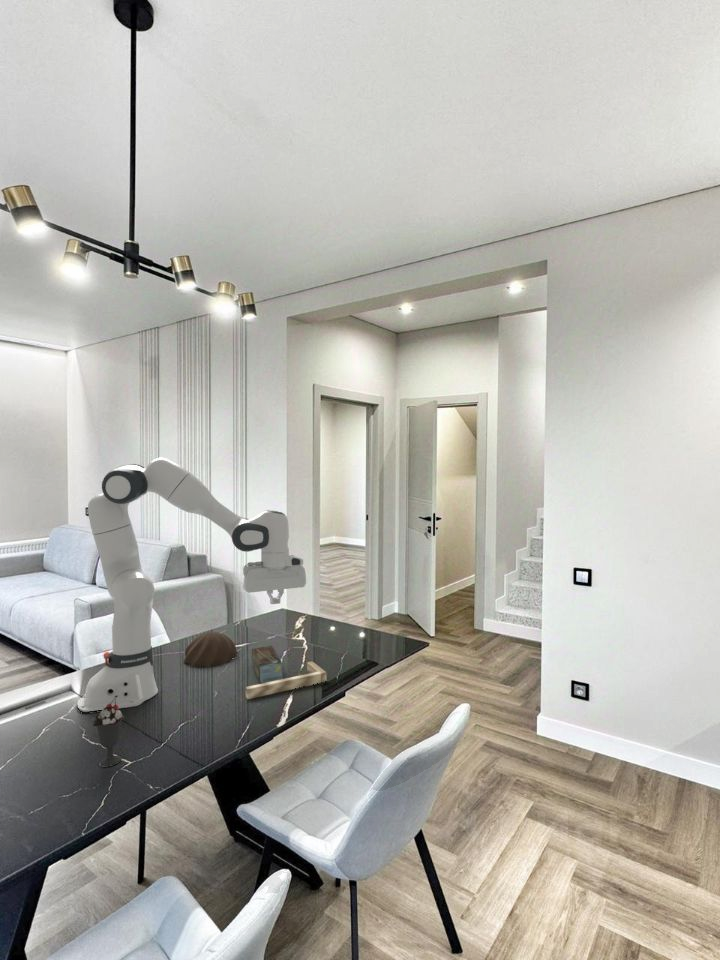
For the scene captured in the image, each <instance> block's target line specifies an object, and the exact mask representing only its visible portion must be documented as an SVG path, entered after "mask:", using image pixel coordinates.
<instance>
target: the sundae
mask: <svg viewBox="0 0 720 960" xmlns="http://www.w3.org/2000/svg"><path fill="white" fill-rule="evenodd" d="M115 697H118V695H117V696H115ZM115 697H114V698H115ZM113 700H114V699H113ZM115 701H116V698H115ZM112 702H113V701H112ZM112 702H111V703H112ZM111 703H110V704H108V705H107V706H106V707H105V708H104V709H103V710H102V711H99V712H100V713H99V716H98V715H97V714H94V717H95V719H94V720H93V722H92V724H93V727H96V729H97V733H98V739H99V742H100V743H99V744H100V745H101V746H102V747H103V748H105V749H106V752H107V755H106V757H105V758H102V759H101V760H100V761H101V763H100V764H101V766H110V765H115V764H117V765H118V764H120V763H121V761H122V760H123V758H122V756H120V755H115V754H114V752H113V751H114V750H113V748H114V746H115V745H117V744H118V742H119V741H120V735H121V726H122V721H123V719H124V718H126V717H125V715H123V714H122V712H121V710H120V709H119V708H118V706H117V705H116V702H115V705H114V706H113V707H112V705H111ZM119 762H120V763H119ZM115 766H116V765H115Z"/></svg>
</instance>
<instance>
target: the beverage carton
mask: <svg viewBox="0 0 720 960" xmlns="http://www.w3.org/2000/svg"><path fill="white" fill-rule="evenodd" d="M251 662H252V663H251V664H252V667H253V669H254V671H255V674H256V677H257V678H258V680H259V682H260V684H262V683H267V682H272V681H276V680H281V679H284V675H283V674H284V673H283V670H284V669H283V663H282V661H281V659H280V657H279V655H278V653H277V651H276V649H275V647H274V646H273V645H269V646H262V647H258V648H252V649H251Z"/></svg>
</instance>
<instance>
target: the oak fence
mask: <svg viewBox="0 0 720 960" xmlns="http://www.w3.org/2000/svg"><path fill="white" fill-rule="evenodd" d="M306 671H308V672H307V673H306V674H301V675H295V676H292V677H287V678H283V679H281V680H276V681H272V682H266V683H260V684H259V683H258V684H254V685H249V686H245V698H246V699H247V700H251V699H254V698H255V699H256V698H260V697H264V696H265V697H266V696H268V695H273V694H278V693H281V692H285V691H286V692H287V691H289V690H295V688H296V689H300V688H304V687H303V686H305V687H309V686H314V685H317V683H318V684H322V683H326V682H325V681H328V679H327V678H328V677H327V676H328V675H327V674H328V673H327V671H326V670H324V669H323V668H322V667H320V666H319V665H318V664H316V663H315V662H314V661H309V662H306ZM321 682H322V683H321ZM313 684H314V685H313ZM299 687H300V688H299Z"/></svg>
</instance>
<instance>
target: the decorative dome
mask: <svg viewBox="0 0 720 960" xmlns="http://www.w3.org/2000/svg"><path fill="white" fill-rule="evenodd" d="M184 655H185V656H184V657H185V658H184V660H183V663H184V664H187V665H190V666H191V667H192V668H193V667H208V668H209V667H212V666H216V665H223V664H224V665H225V664H227V663H229V662H230V661H232V660H233V659H232V658H235V657H237V656H238V650H237V646H236V645H235V642H234V641H233V640H232V639H231V638H230V637H228V635H226V634H224V633H221V632H218V631H207V632H203V633H201V634H199V635H197V636H196V637H195V638H194V639H193V640H192V641H191V643H189V644H188V645H187V647H186V648H185V651H184ZM237 658H238V657H237ZM231 659H232V660H231ZM235 659H236V658H235ZM229 660H230V661H229ZM228 661H229V662H228Z"/></svg>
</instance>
